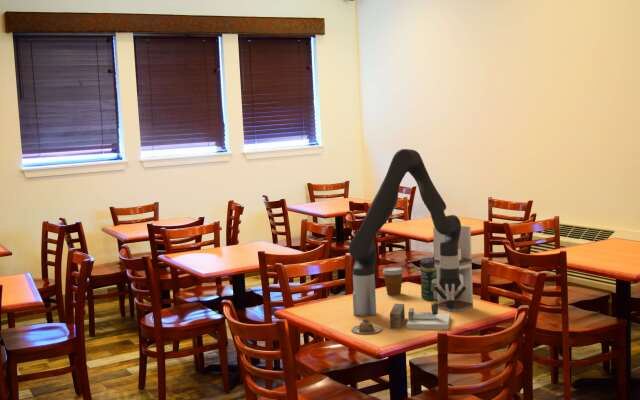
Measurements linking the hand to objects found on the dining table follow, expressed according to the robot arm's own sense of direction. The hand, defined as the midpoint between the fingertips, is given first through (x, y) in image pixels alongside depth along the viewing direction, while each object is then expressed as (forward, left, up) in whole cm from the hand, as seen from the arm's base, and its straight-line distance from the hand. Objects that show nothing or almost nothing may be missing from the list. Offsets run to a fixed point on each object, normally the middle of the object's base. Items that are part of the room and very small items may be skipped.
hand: (450, 309), depth 308 cm
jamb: (-21, 0, -6) cm, 22 cm away
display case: (0, +25, -6) cm, 26 cm away
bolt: (-11, 0, -4) cm, 11 cm away
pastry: (-32, -10, -7) cm, 35 cm away
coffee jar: (-11, +41, -6) cm, 43 cm away
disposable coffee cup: (-29, +50, -6) cm, 58 cm away
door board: (-9, 0, -6) cm, 11 cm away
